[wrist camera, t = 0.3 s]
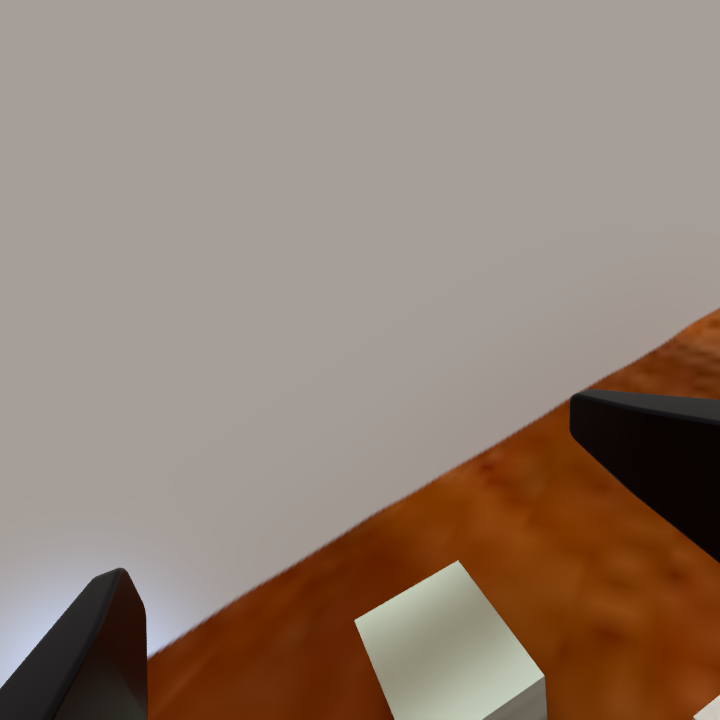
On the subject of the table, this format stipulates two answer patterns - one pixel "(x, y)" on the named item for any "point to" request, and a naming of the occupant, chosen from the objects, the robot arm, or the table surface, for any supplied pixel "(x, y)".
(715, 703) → the bin
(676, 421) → the robot arm
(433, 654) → the mint block
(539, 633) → the table surface
